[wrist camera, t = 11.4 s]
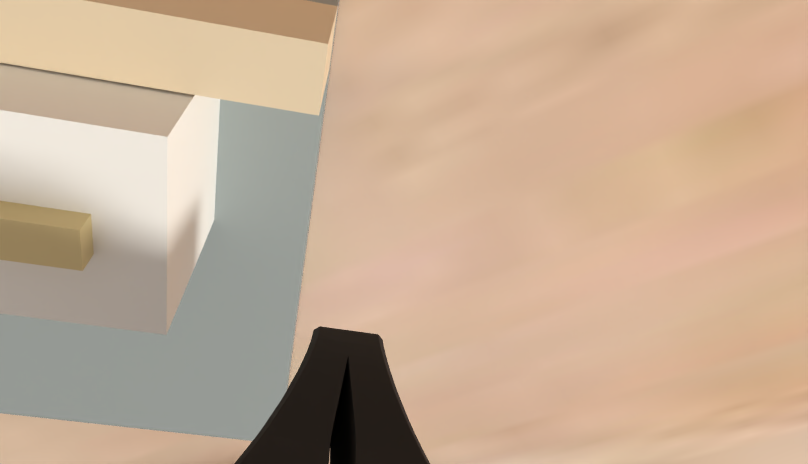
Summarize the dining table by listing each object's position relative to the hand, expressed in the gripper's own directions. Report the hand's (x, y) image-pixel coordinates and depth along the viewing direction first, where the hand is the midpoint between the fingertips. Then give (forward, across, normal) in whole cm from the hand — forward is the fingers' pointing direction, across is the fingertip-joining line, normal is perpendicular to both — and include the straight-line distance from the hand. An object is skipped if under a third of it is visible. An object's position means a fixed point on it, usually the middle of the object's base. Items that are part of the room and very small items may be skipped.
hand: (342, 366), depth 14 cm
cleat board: (+7, +6, +2) cm, 10 cm away
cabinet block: (+6, +6, -2) cm, 9 cm away
